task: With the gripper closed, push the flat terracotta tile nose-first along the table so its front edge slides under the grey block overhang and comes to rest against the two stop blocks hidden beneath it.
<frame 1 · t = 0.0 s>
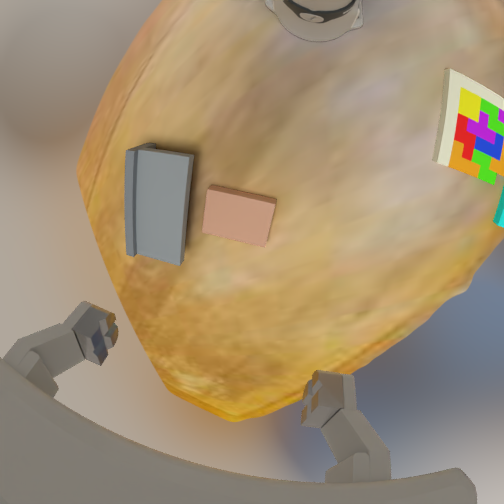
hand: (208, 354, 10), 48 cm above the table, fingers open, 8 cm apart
tile: (240, 212, 59), on the table
grey block: (171, 198, 60), on the table
puzzle game: (484, 153, 42), on the table
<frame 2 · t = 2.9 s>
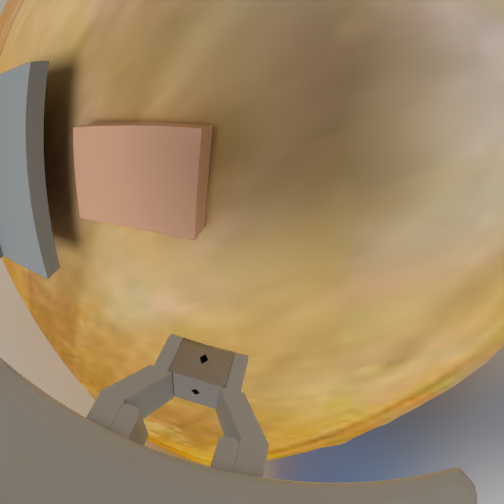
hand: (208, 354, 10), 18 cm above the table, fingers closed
tile: (145, 169, 26), on the table
grey block: (45, 157, 26), on the table
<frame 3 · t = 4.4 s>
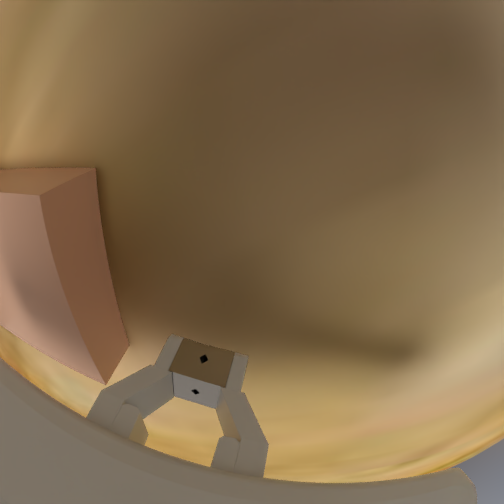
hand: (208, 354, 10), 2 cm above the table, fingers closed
tile: (30, 246, 12), on the table
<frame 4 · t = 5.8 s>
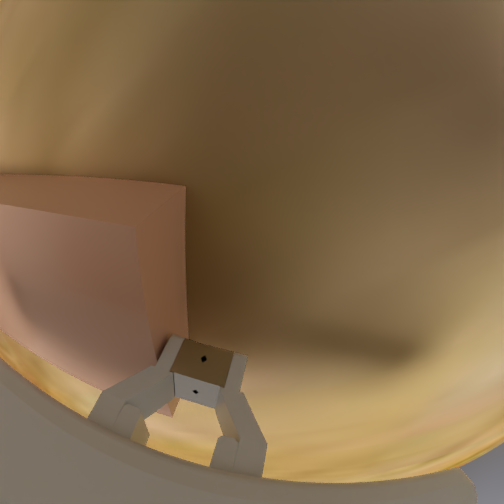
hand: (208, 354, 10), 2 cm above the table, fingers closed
tile: (69, 265, 12), on the table, touching gripper
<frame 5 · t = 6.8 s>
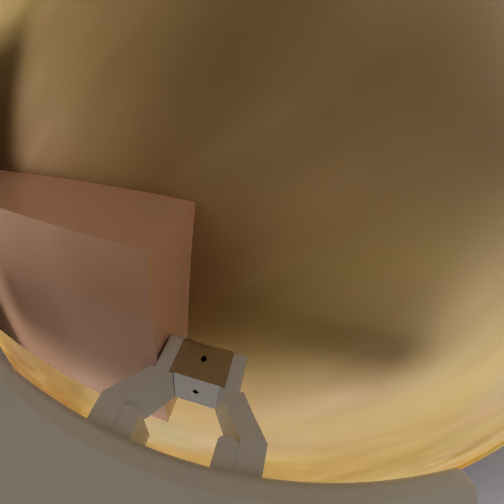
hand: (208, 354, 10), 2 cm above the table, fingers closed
tile: (69, 268, 12), on the table, touching gripper
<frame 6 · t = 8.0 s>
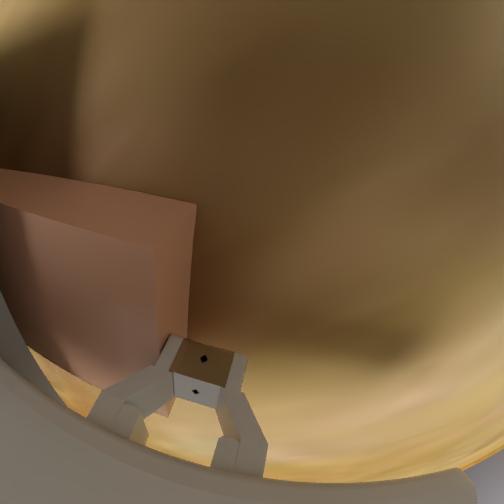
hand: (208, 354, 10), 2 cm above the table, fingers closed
tile: (71, 265, 12), on the table, touching gripper
grey block: (20, 246, 12), on the table
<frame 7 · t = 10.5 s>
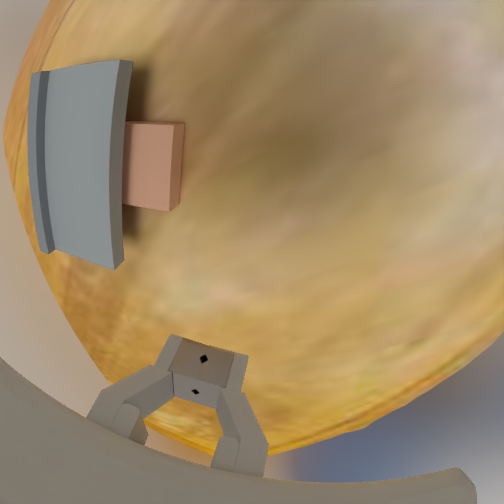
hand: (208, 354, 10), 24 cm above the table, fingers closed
tile: (134, 158, 32), on the table
grey block: (107, 154, 31), on the table
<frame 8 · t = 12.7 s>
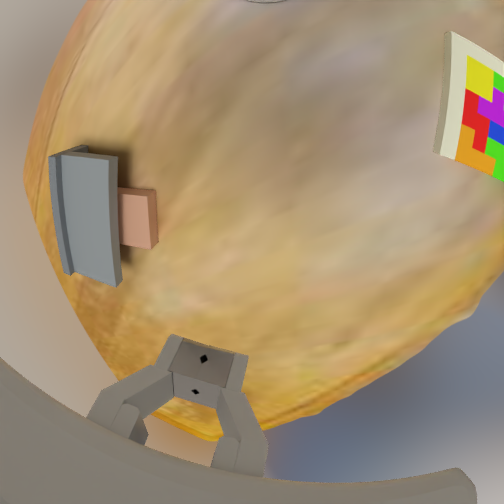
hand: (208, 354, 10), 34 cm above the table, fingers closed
tile: (126, 211, 48), on the table
grey block: (107, 207, 48), on the table
puzzle game: (499, 145, 29), on the table
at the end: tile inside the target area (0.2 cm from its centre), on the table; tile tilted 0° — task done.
